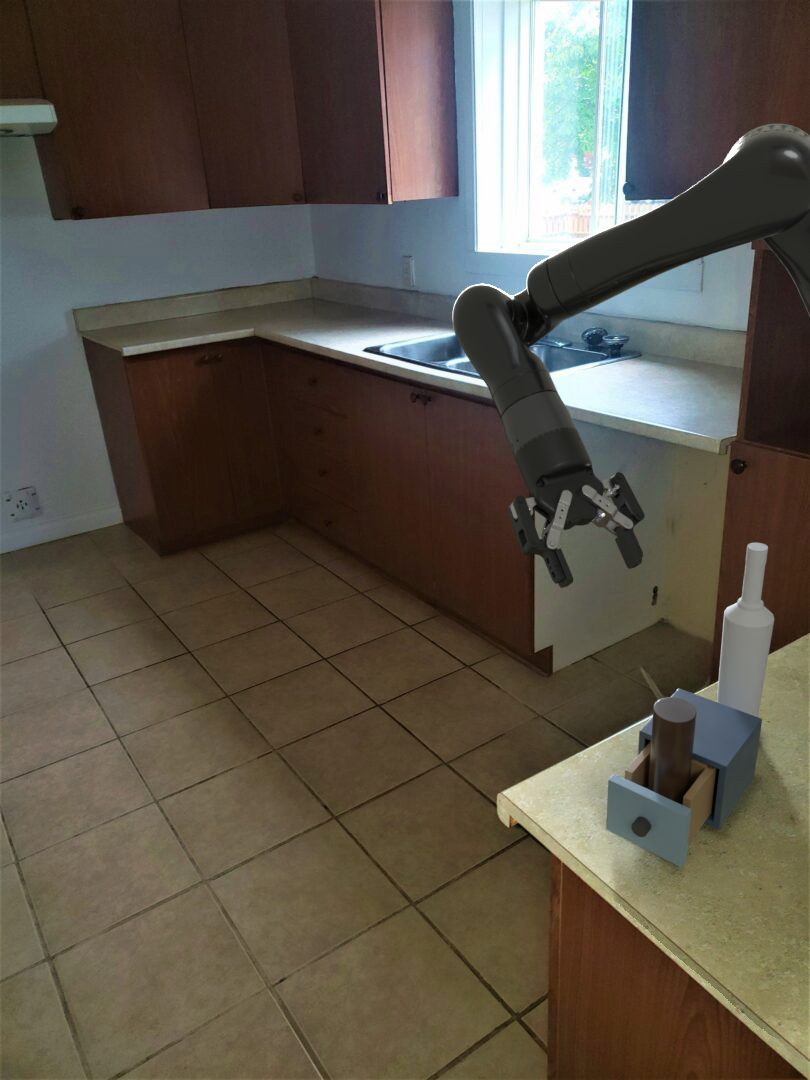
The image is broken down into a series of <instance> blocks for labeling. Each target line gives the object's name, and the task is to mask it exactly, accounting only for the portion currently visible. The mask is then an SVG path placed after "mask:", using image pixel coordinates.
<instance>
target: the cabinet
mask: <svg viewBox="0 0 810 1080" xmlns="http://www.w3.org/2000/svg"><path fill="white" fill-rule="evenodd" d="M670 697H675V698H680V699H684V700H686V701H688V702H690V703H691V704H692V705H693V706H694V707H695V709H696V712H697V714H696V725H695V735H694V745H693V755H692V758H693V759H696V760H698V761H701V762H703V763H705V764H708V765H710V766H713V767H715V768H716V776H715V785H714V794H713V802H712V812H711V814H710V816H709V817H708V818H707V820H706V821H705V823H704V824H705V825H708V826H710V827H712V828H714V829H716V830H719V831H720V829H721V828H722V826H723V825H724V824H725V822H726V820H727V819H728V818H729V816H730V815H731V813H732V812H733V810H734V809H735V807H736V806H737V804H738V803H739V802H740V800H741V799H742V797H743V796H744V794H745V793H746V792H747V790H748V788H749V787H750V786H751V784H752V783H753V781H754V780H755V774H756V773H755V772H756V767H757V759H758V751H759V744H760V737H761V733H762V731H761V730H762V723H763V718H762V717H759V716H758V717H756V716H753V715H750V714H748V713H745V712H742V711H739V710H737V709H734V708H731V707H728V706H726V705H723V704H720V703H718V702H717V701H715V700H712V699H709V698H706V697H704V696H701V695H698V694H696V693H693V692H690V691H688V690H685V689H682V688H680V687H679V688H677V689H676V690H675V692H674V693H673V694H672V695H671V696H670ZM652 722H653V716H651V718H650V719H649V720H648V721H647V722H646V723H645V724H644V725H643V726H642V728H641V729H640V730H639V732H638V734H639V736H638V749H637V756H638V755H639V754H640V753H641V752H642V751H643V750H644V748H645V747H646V746H647V745H648V744H649V743H650V742H651V737H652Z"/></svg>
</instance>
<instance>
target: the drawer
mask: <svg viewBox="0 0 810 1080" xmlns="http://www.w3.org/2000/svg"><path fill="white" fill-rule="evenodd" d="M650 751H651V742H650V743H649V744H648V745H647V746H646V747H645V748H644V750H643V751H642V752H641V753H640V754H639V755H638V754H637V756H636V757H635V758H634V760H632V762H631V763H630V764H629V765H628V766H627V768H625V770H624V777H622V776H620V775H618V774H616V773H613V774H612V775H611V776H610V777H609V779H608V780H607V801H606V825H605V830H607V831H609V832H610V833H613V834H615V835H616V836H618V837H620V838H622V839H624V840H626V841H628V842H630V843H631V844H634V845H636V846H637V847H640V848H641V849H644V850H646V851H648V852H649V853H652V854H653V855H656V856H657V857H659V858H661V859H663V860H665V861H667V862H669V863H671V864H672V865H675V866H677V867H679V868H682V867H683V866H684V865H685V863H686V861H687V858H688V847H689V845H690V844H691V842H692V841H693V839H694V838H695V837H696V835H697V834H698V832H699V831H700V829H702V827H703V825H704V824H705V821H706V820H707V818H708V817H709V816H710V814H711V812H712V802H713V794H714V785H715V776H716V768H715V767H713V766H710V765H708V764H705V763H703V762H701V761H698V760H696V759H693V758H692V766H691V776H690V786H689V790H688V791H687V793H686V794H685V795H684V797H683V805H681V804H679V803H677V802H675V801H672V800H670V799H668V798H666V797H664V796H662V795H659V794H657V793H655V792H653V791H651V790H649V789H648V780H649V766H650Z"/></svg>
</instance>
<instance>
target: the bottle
mask: <svg viewBox="0 0 810 1080" xmlns="http://www.w3.org/2000/svg"><path fill="white" fill-rule="evenodd" d="M768 552H769V547H768V545H767V544H765V543H762V542H750V543H748V544H747V546H746V553H745V566H744V573H743V583H742V591H741V592H742V593H741V597H739V598H738V599H737V602H735V603H734V604H731V605H729V606H727V607H726V608H725V610H724V611H723V622H722V631H721V632H722V635H721V647H720V656H719V657H720V658H719V669H718V680H717V693H716V702H718V703H720V704H723V705H726V706H728V707H731V708H734V709H737V710H739V711H742V712H745V713H748V714H750V715H753V716H756V717H758V718H759V713H760V707H761V702H762V695H763V689H764V684H765V679H766V678H765V677H766V672H767V665H768V660H769V655H770V648H771V641H772V636H773V630H774V624H775V616H774V614H773V613H772V612H771V611H770V610H769V609H768V608H767V607H766V606H765V602H764V601H763V600H762V594H763V586H764V579H765V571H766V570H765V569H766V564H767V560H768Z"/></svg>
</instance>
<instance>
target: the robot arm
mask: <svg viewBox="0 0 810 1080" xmlns="http://www.w3.org/2000/svg"><path fill="white" fill-rule="evenodd" d="M759 240H762V241H763V242H764V243H765V244H766V245H767V247H768V248H769V249H770V250H771V252H773V254H774V255H775V256H776V257H777V259H778V260H779V261H780V263H781V264H782V265H783V266H784V268H785V269H786V271H787V273H788V274H789V275H790V277H791V279H792V281H793V283H794V284H795V286H796V288H797V291H798V293H799V296H800V298H801V299H802V302H803V304H804V307H805V309H806V311H807V313H808V315H809V317H810V135H809V134H808V133H807V132H805V131H804V130H802V129H801V128H799V127H797V126H794V125H791V124H785V123H769V124H763V125H760V126H758V127H755V128H753V129H751V130H749V131H748V132H746V133H745V134H743V135H742V136H741V137H740V138H739V139H738V140H737V141H736V142H735V143H734V144H733V146H732V147H731V149H730V150H729V151H728V153H727V154H726V157H725V158H724V160H723V163H722V164H721V165H719V166H718V167H717V168H715V169H714V170H713V171H711V172H710V173H709V174H708V175H707V176H705V177H703V178H702V179H701V180H699V181H698V182H696V183H695V184H694V185H692V186H691V187H690V188H688V189H687V190H685V191H683V192H682V193H680V194H679V195H677V196H675V197H674V198H672V199H670V200H669V201H667V202H665V203H663V204H661V205H660V206H657V207H656V208H653V209H652V210H650V211H648V212H645V213H642V214H640V215H638V216H636V217H633V218H631V219H627V220H626V221H623V222H620V223H618V224H615V225H613V226H610V227H607V228H604V229H602V230H599V231H597V232H595V233H593V234H591V235H589V236H586V237H584V238H582V239H580V240H579V241H576V242H575V243H573V244H571V245H569V246H566V247H565V248H563V249H561V250H559V251H557V252H555V253H554V254H552V255H550V256H549V257H546V258H545V259H542V260H541V261H539V262H538V263H537V264H535V265H533V267H532V268H531V269H530V270H529V272H528V273H527V277H526V288H524V289H523V290H522V291H520V292H518V293H516V294H514V295H510V294H508V293H506V292H505V291H503V290H502V289H500V288H497V287H496V286H493V285H491V284H485V283H479V284H478V283H477V284H474V285H470V286H468V287H466V288H465V289H464V290H462V291H461V293H460V294H459V295H458V297H457V298H456V300H455V302H454V305H453V309H452V327H453V332H454V334H455V337H456V340H457V342H458V343H459V346H460V347H461V349H462V351H463V353H464V354H465V356H466V357H467V359H468V360H469V362H470V363H471V364H472V366H473V368H474V369H475V370H476V373H477V374H478V375H479V376H480V378H481V379H482V381H483V382H484V383H485V385H486V387H487V388H488V391H489V394H490V396H491V400H492V402H493V404H494V407H495V410H496V411H497V413H498V416H499V418H500V421H501V424H502V426H503V430H504V435H505V438H506V441H507V444H508V447H509V450H510V452H511V453H512V456H513V458H514V461H515V463H516V465H517V467H518V470H519V472H520V474H521V477H522V480H523V482H524V484H525V487H526V489H527V490H528V491H529V493H530V495H531V497H526V498H525V497H524V496H523V495H517V496H516V497H515V498H514V499H513V501H512V502H511V503H510V505H508V506H507V512H508V515H509V518H510V521H511V524H512V527H513V530H514V532H515V535H516V538H517V542H518V545H519V548H520V550H521V553H522V554H523V555H524V556H528V557H529V556H531V555H537V556H540V557H541V558H542V559H543V561H544V563H545V567H546V569H547V570H548V573H549V576H550V579H551V581H552V582H553V583H554V584H555V585H557V584H558V586H559V588H560V589H564V588H567V587H569V586H570V585H571V584H573V583H574V576H573V574H572V571H571V569H570V566H569V564H568V562H567V559H566V557H565V554H564V552H563V550H562V548H558V546H559V542H560V537H561V534H562V532H563V531H567V530H571V529H572V528H574V527H575V526H579V527H580V526H581V527H582V526H586V525H589V524H590V523H592V524H593V525H595V526H596V527H598V528H602V529H605V530H606V531H607V532H609V533H610V534H611V535H613V536H615V539H614V541H615V543H616V545H617V548H618V550H619V553H620V555H621V556H622V559H623V561H624V564H625V566H626V568H627V569H629V570H631V569H634V568H636V567H638V566H639V565H641V564H642V563H643V558H644V553H643V549H642V547H641V545H640V543H639V540H638V538H637V536H636V534H635V532H634V528H635V526H636V525H638V524H639V523H640V522H642V521H643V520H644V519H645V515H646V514H645V513H644V510H643V509H642V507H641V505H640V503H639V501H638V499H637V497H636V496H635V493H634V492H633V489H632V488H631V485H630V484H629V482H628V480H627V478H626V476H625V475H624V473H622V472H620V471H618V472H616V473H615V474H614V475H612V476H611V477H608V478H605V479H602V480H601V479H600V478H598V476H597V475H596V474H595V472H594V469H593V463H592V459H591V457H590V455H589V453H588V450H587V449H586V446H585V444H584V441H583V439H582V437H581V435H580V433H579V431H578V429H577V426H576V424H575V421H574V419H573V417H572V415H571V413H570V411H569V409H568V407H567V405H566V404H565V403H564V401H563V400H562V398H561V395H560V394H559V392H558V389H557V387H556V385H555V383H554V381H553V378H552V376H551V373H550V371H549V369H548V368H547V365H546V364H545V362H544V361H543V360H542V358H541V357H540V356H539V355H538V354H536V353H535V352H534V351H533V350H532V349H530V348H531V347H533V346H534V345H535V344H537V343H538V342H539V341H541V340H542V339H543V338H545V337H546V336H548V335H549V334H550V333H551V332H552V331H554V330H555V329H556V328H557V327H558V326H559V325H560V324H562V323H563V322H564V321H566V320H569V319H572V318H574V317H576V316H578V315H580V314H582V313H584V312H587V311H589V310H590V309H592V308H595V307H597V306H599V305H601V304H603V303H605V302H607V301H609V300H611V299H613V298H615V297H617V296H619V295H621V294H623V293H625V292H627V291H629V290H631V289H633V288H635V287H637V286H639V285H641V284H643V283H645V282H647V281H649V280H651V279H653V278H655V277H657V276H660V275H662V274H664V273H666V272H668V271H671V270H674V269H677V268H678V267H679V268H680V267H681V266H683V265H686V264H689V263H691V262H694V261H697V260H699V259H702V258H705V257H709V256H710V255H713V254H716V253H720V252H723V251H727V250H729V249H733V248H736V247H740V246H743V245H746V244H749V243H752V242H753V243H754V242H756V241H759ZM604 493H605V494H606V498H605V497H604V496H603V495H604ZM607 498H608V499H609V498H610V500H611V501H612V502H611V501H610V500H608V499H607ZM534 511H535V512H536V513H537V514H539V515H541V516H542V517H543V518H544V523H543V527H542V531H541V534H540V535H541V538H540V536H539V533H538V532H537V528H536V525H535V523H534V520H533V517H532V516H533V515H534ZM600 511H601V512H603V513H600Z"/></svg>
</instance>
